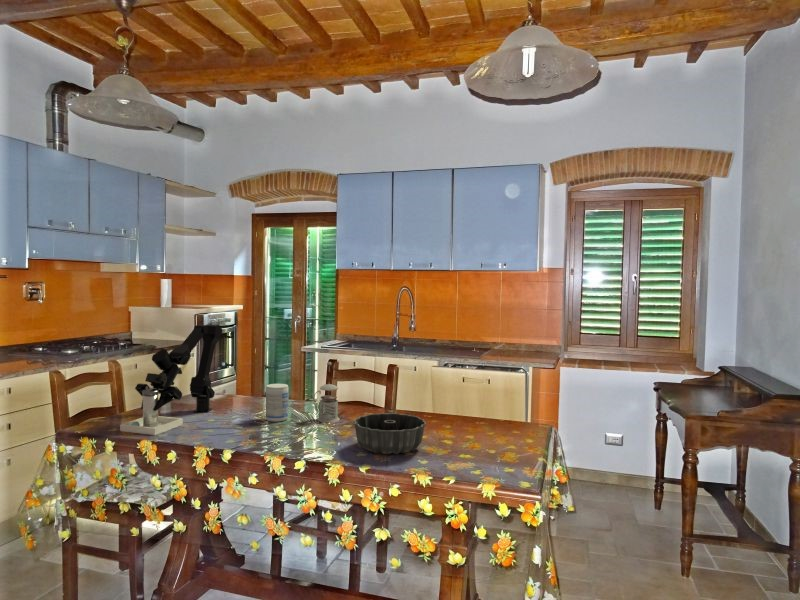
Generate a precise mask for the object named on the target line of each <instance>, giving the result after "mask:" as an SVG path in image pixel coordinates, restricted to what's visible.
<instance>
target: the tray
mask: <svg viewBox="0 0 800 600" xmlns="http://www.w3.org/2000/svg"><path fill="white" fill-rule="evenodd" d="M183 420H184V418H182V417H181V418H180V417H171V416H169V417H168V416H162V415H158V426H156V427H143V416H142V417H140V418H137V419H136V418H135V419H133V420H131V421H127V422H124V423H122V424H119V425H120V426H119V431H120V432H124V433H132V434H133V433H135V434H142V435H149V436H150V435H151V436H156V435H159V434H162V433H164V432H167V431H169V430H173V429H174V428H178V427H180V426H183V425H184V423H183V422H184V421H183ZM135 421H137V422H139V424H140V426H135V425H131V424H132V423H133V422H135Z"/></svg>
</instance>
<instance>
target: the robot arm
mask: <svg viewBox="0 0 800 600" xmlns="http://www.w3.org/2000/svg"><path fill="white" fill-rule="evenodd" d="M222 334H223V328H222V327H221V325H220V324H196V325H194V327H193V330H192V331H191V332H190V333H189V334H188V336H187V337H186V339H184V341H183V342H182V343H181V344H180V345H178V346H177V347H175V348H173V349H172V350H170V352H169V351H168V350H167V349H166V348H161V349H160V350H158V351H157V352H155V353H154V354H153V355H152V356H151V361H152V362H153V363H154V365H155V366H156V367H157V368H158V369H159V370H161V372H159V373H150V372H149V373H147V374H146V377H145V382H147V383H137V384H136V386H135V387H134V389H135V391H136V392H137V393H138V394H139V395H140V396H141V397H143V395H142V391H143V390H145V389H158V390H159V394H158V395H159V397H158V401H157V403H156V405H155V407H154V411H156V410H158V411H159V409H161V408H162V407H164V406H165V405H167V404H168V403H171V402H173V401H174V400H176V401H177V400H178V401H180V400H181V399H182V398H183V392H182V391H181V390H180V388H179V387H177V386H175V382H174V381H175V379H176V377H177V375H182V374H183V371H182V367H180V366H185V365H187V364H188V362H189V361H190V359H191V357H192V351H193V350H194V349H195V347H196V346H197V345H198V343H199V342H200V341H201V339H202V341H203V347H202V351H201V355H200V360H199V364H198V370H197V374H196V375H195V376H192V377H191V379H190V384H189V391H190V394H191V397H192V398H195V401H196V403H195V406H196V407H195V409H194V410H193V411H192V412H193V413H209V412H211V411H212V410H213V407H211V405H210V404H211V403H210V402H211V401H210V400H211V399H212V398H214V397H215V394H216V392H215V390H214V389H213V388H212V381H211V377H210V373H211V372H210V371H211V367H212V361H213V357H214V353H215V348H216V345H217V343H219V342H220V340H221V337H222ZM148 383H149V384H150V385H151V387H150V385H148ZM141 400H142V402H141V407H140V408H141V410H142V411H143V399H141Z"/></svg>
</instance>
